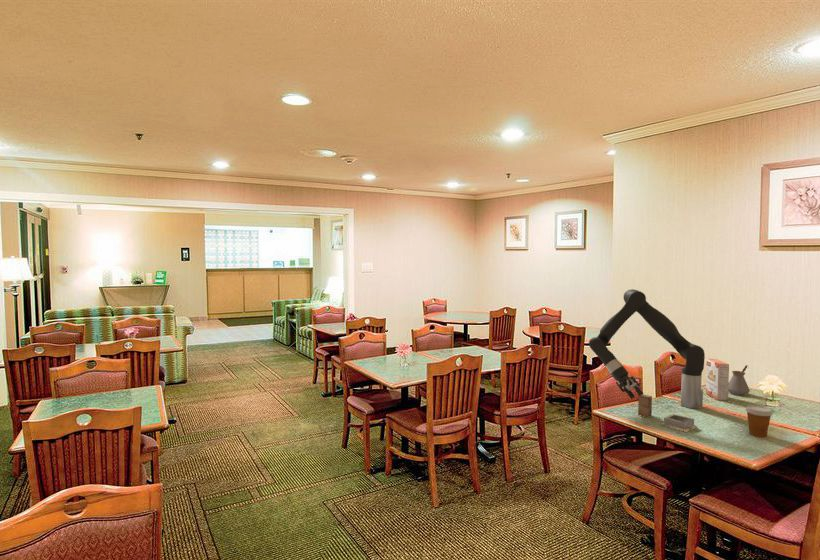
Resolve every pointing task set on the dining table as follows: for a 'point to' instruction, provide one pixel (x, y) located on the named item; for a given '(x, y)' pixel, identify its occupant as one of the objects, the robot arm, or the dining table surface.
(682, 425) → the gray square tray
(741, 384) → the coffee pot
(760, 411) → the disposable coffee cup
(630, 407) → the dining table surface
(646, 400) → the block
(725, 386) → the cracker box
